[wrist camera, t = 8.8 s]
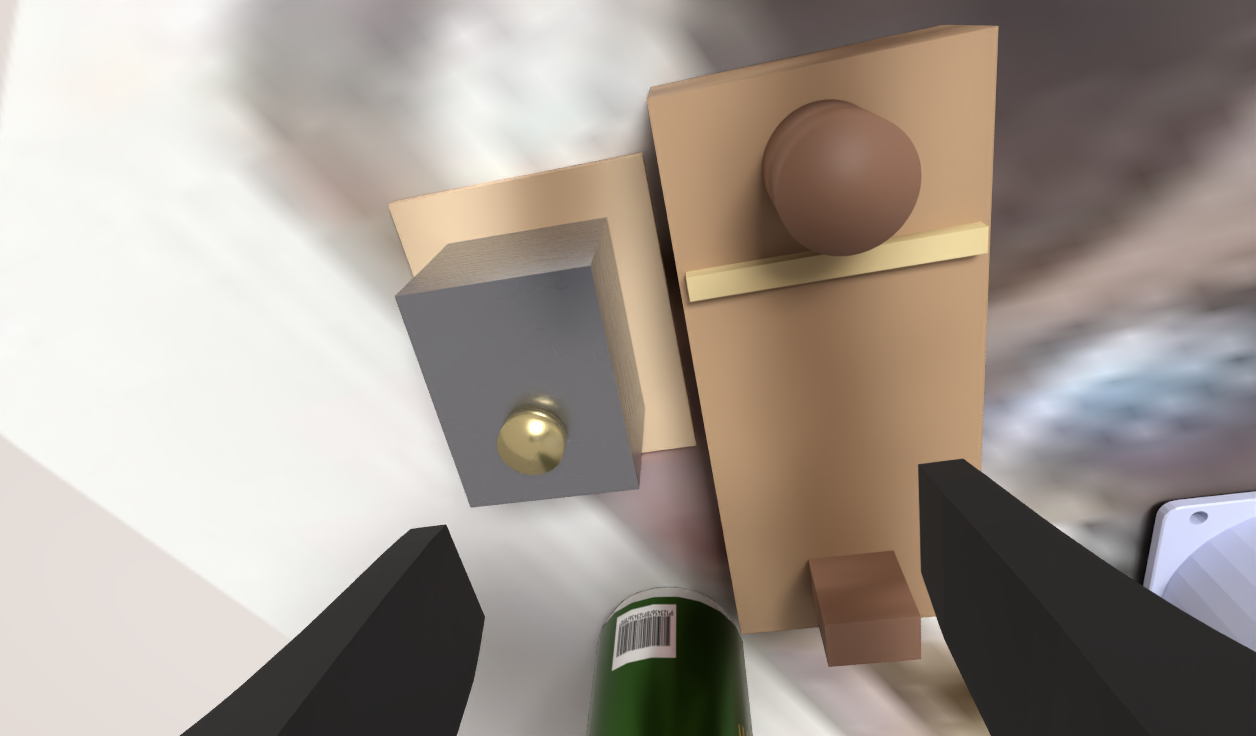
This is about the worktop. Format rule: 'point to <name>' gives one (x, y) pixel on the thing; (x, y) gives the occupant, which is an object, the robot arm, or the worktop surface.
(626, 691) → the beer can
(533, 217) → the cork trivet
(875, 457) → the body
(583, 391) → the grey block with knob
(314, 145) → the worktop surface
